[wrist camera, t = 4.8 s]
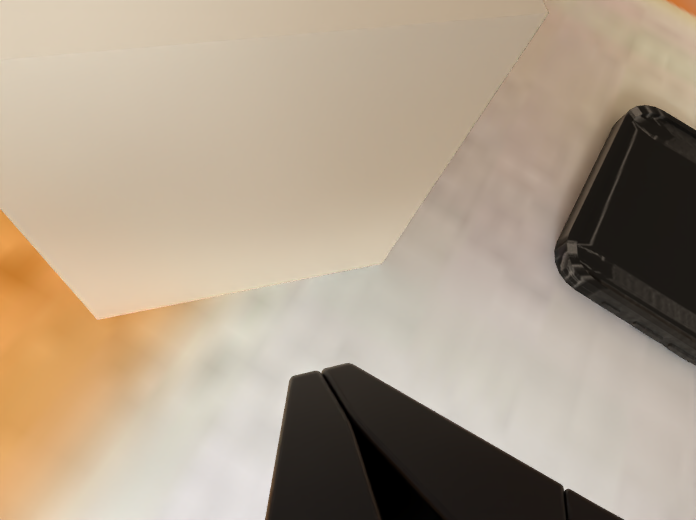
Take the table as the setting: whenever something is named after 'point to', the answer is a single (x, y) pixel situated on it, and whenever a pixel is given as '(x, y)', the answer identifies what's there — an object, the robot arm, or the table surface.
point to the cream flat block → (235, 133)
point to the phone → (639, 229)
